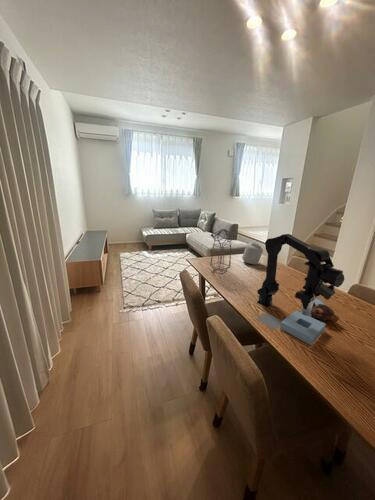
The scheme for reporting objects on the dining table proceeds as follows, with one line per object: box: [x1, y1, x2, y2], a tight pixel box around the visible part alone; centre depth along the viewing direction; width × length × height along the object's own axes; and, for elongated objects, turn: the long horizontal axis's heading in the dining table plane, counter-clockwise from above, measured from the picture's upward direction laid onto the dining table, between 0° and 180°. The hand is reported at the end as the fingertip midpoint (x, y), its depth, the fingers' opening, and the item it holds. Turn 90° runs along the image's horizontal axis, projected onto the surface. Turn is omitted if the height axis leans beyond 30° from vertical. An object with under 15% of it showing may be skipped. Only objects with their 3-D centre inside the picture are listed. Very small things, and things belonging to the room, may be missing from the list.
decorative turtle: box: [310, 302, 340, 323], centre depth 107 cm, size 10×15×8 cm, turn 51°
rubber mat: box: [256, 312, 283, 330], centre depth 104 cm, size 10×10×1 cm
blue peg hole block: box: [279, 310, 327, 346], centre depth 98 cm, size 14×16×4 cm
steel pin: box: [300, 294, 315, 317], centre depth 94 cm, size 4×4×10 cm
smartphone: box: [314, 297, 327, 306], centre depth 120 cm, size 7×1×15 cm
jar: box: [241, 241, 264, 266], centre depth 182 cm, size 19×15×25 cm
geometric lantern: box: [209, 228, 237, 274], centre depth 161 cm, size 16×16×35 cm
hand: (306, 307), depth 95 cm, fingers closed on steel pin, 4 cm apart
